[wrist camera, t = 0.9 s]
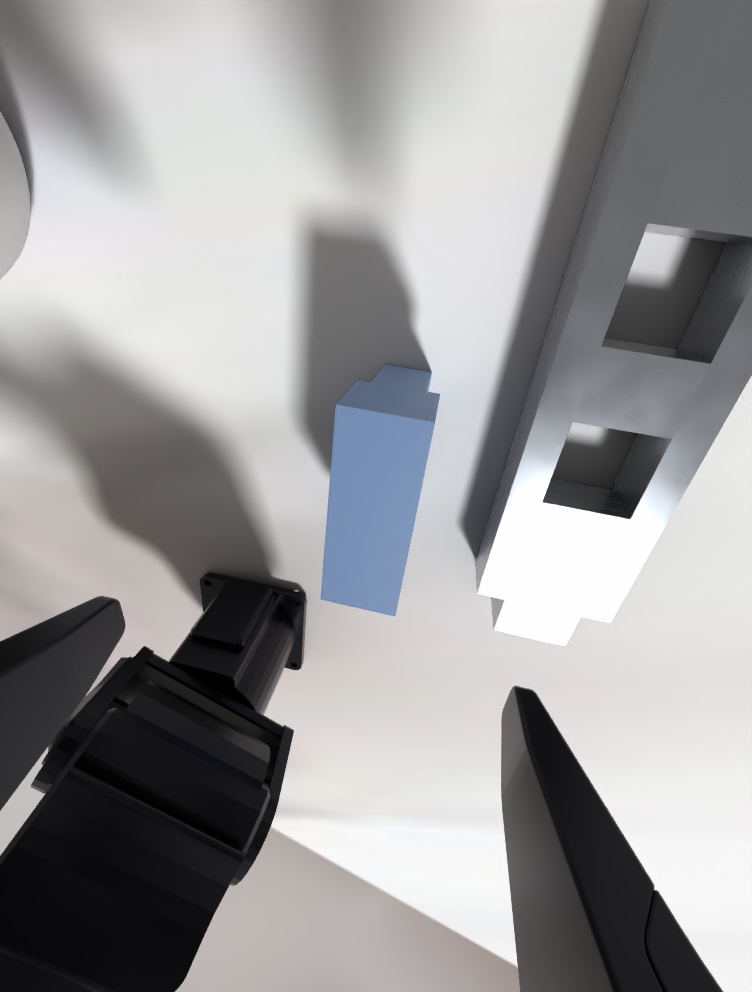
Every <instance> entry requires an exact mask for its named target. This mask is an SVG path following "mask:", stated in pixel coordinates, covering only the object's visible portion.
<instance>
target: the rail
mask: <svg viewBox="0 0 752 992" xmlns="http://www.w3.org/2000/svg"><path fill="white" fill-rule="evenodd" d="M644 232H652V233H659V234H667V235H675V236H682V237H690V238H697V239H705V240H712V241H720V242H727V243H726V246H725V248H724V250H723V252H722V254H721V256H720V258H719V261H718V263H717V265H716V267H715V269H714V271H713V273H712V276H711V278H710V280H709V282H708V284H707V286H706V288H705V290H704V293H703V295H702V297H701V299H700V301H699V303H698V305H697V308H696V310H695V312H694V314H693V316H692V318H691V320H690V323H689V325H688V327H687V329H686V331H685V333H684V335H683V337H682V340H681V342H680V344H679V346H678V348H677V349H673V348H667V347H660V346H654V345H647V344H641V343H635V342H628V341H622V340H615V339H609V338H605V335H606V332H607V330H608V327H609V324H610V322H611V319H612V316H613V314H614V311H615V308H616V306H617V303H618V301H619V298H620V295H621V293H622V290H623V287H624V285H625V282H626V279H627V277H628V274H629V272H630V269H631V266H632V264H633V261H634V258H635V256H636V253H637V250H638V248H639V245H640V242H641V240H642V237H643V235H644ZM751 375H752V0H650V1H649V4H648V8H647V11H646V14H645V17H644V20H643V24H642V27H641V30H640V33H639V37H638V40H637V43H636V46H635V49H634V53H633V56H632V59H631V62H630V66H629V69H628V72H627V75H626V78H625V82H624V85H623V88H622V91H621V95H620V98H619V101H618V104H617V107H616V111H615V114H614V117H613V120H612V123H611V127H610V130H609V133H608V136H607V140H606V143H605V146H604V149H603V152H602V156H601V159H600V162H599V165H598V169H597V172H596V175H595V178H594V181H593V185H592V188H591V191H590V194H589V198H588V201H587V204H586V207H585V210H584V214H583V217H582V220H581V223H580V226H579V230H578V233H577V236H576V239H575V243H574V246H573V249H572V252H571V255H570V259H569V262H568V265H567V268H566V272H565V275H564V278H563V281H562V284H561V288H560V291H559V294H558V297H557V300H556V304H555V307H554V310H553V313H552V317H551V320H550V323H549V326H548V329H547V333H546V336H545V339H544V342H543V346H542V349H541V352H540V355H539V358H538V362H537V365H536V368H535V371H534V375H533V378H532V381H531V384H530V387H529V391H528V394H527V397H526V400H525V403H524V407H523V410H522V413H521V416H520V420H519V423H518V426H517V429H516V432H515V436H514V439H513V442H512V445H511V449H510V452H509V455H508V458H507V461H506V465H505V468H504V471H503V474H502V478H501V481H500V484H499V487H498V490H497V494H496V497H495V500H494V503H493V506H492V510H491V513H490V516H489V519H488V523H487V526H486V529H485V532H484V535H483V539H482V542H481V545H480V548H479V552H478V555H477V558H476V582H477V594H481V595H485V596H490V597H491V602H492V614H493V627H494V630H496V631H501V632H505V633H510V634H514V635H519V636H523V637H527V638H532V639H536V640H541V641H545V642H550V643H554V644H559V645H563V646H565V645H566V643H567V641H568V640H569V638H570V636H571V634H572V632H573V630H574V628H575V626H576V624H577V622H578V620H579V618H580V616H582V617H587V618H591V619H596V620H601V621H605V622H611V620H612V618H613V617H614V615H615V613H616V611H617V610H618V608H619V606H620V604H621V603H622V601H623V599H624V597H625V596H626V594H627V592H628V590H629V589H630V587H631V585H632V583H633V582H634V580H635V578H636V576H637V575H638V573H639V571H640V569H641V568H642V566H643V564H644V562H645V561H646V559H647V557H648V555H649V554H650V552H651V550H652V548H653V547H654V545H655V543H656V541H657V540H658V538H659V536H660V534H661V533H662V531H663V529H664V527H665V526H666V524H667V522H668V520H669V519H670V517H671V515H672V513H673V512H674V510H675V508H676V506H677V505H678V503H679V501H680V499H681V498H682V496H683V494H684V492H685V491H686V489H687V487H688V485H689V484H690V482H691V480H692V478H693V477H694V475H695V473H696V471H697V470H698V468H699V466H700V464H701V463H702V461H703V459H704V457H705V456H706V454H707V452H708V450H709V449H710V447H711V445H712V443H713V442H714V440H715V438H716V436H717V435H718V433H719V431H720V429H721V428H722V426H723V424H724V422H725V421H726V419H727V417H728V415H729V414H730V412H731V410H732V408H733V407H734V405H735V403H736V401H737V400H738V398H739V396H740V394H741V393H742V391H743V389H744V387H745V386H746V384H747V382H748V380H749V379H750V377H751ZM572 422H577V423H583V424H588V425H594V426H600V427H605V428H611V429H617V430H622V431H628V432H634V433H638V434H637V436H636V438H635V440H634V442H633V444H632V446H631V449H630V451H629V453H628V455H627V457H626V459H625V461H624V463H623V466H622V468H621V470H620V472H619V474H618V476H617V478H616V481H615V483H614V485H613V487H612V489H607V488H601V487H596V486H591V485H585V484H580V483H575V482H569V481H564V480H559V479H553V478H551V477H552V475H553V472H554V469H555V467H556V464H557V462H558V459H559V456H560V454H561V451H562V448H563V446H564V443H565V440H566V438H567V435H568V433H569V430H570V427H571V425H572Z"/></svg>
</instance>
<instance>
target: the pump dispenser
mask: <svg viewBox="0 0 752 992" xmlns="http://www.w3.org/2000/svg"><path fill="white" fill-rule="evenodd" d="M29 224H30V194H29V187H28V181H27V176H26V172H25V168H24V165H23V161H22V158H21V155H20V152H19V150H18V147H17V144H16V142H15V140H14V137H13V135H12V133H11V131H10V129H9V127H8V125H7V123H6V121H5V119H4V117H3V115H2V113H1V111H0V278H2V277H3V276H4V275H5V274H6V273H7V272H8V271H9V270H10V269H11V267H12V266H13V265H14V264H15V262H16V260H17V259H18V257H19V256H20V254H21V252H22V250H23V247H24V245H25V242H26V238H27V235H28V230H29Z"/></svg>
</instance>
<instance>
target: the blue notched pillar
mask: <svg viewBox="0 0 752 992" xmlns="http://www.w3.org/2000/svg"><path fill="white" fill-rule="evenodd" d="M431 374H432V372H429V371H423V370H417V369H412V368H406V367H400V366H394V365H388V364H384V365H383V367H382V368H381V369H380V371H379V372H378V373H377V375H376V376H375V377H374V379H373V380H372V381H371V382H368V381H362V380H357V381H356V382H355V383H354V384H353V385H352V387H351V388H350V389H349V390H348V391H347V392H346V393H345V394H344V396H343V397H342V398H341V399H340V400H339V401H338V402H337V404H336V407H335V420H334V433H333V446H332V459H331V472H330V485H329V498H328V511H327V524H326V537H325V550H324V563H323V576H322V589H321V600H326V601H330V602H334V603H339V604H343V605H348V606H352V607H356V608H361V609H365V610H370V611H374V612H378V613H383V614H387V615H391V616H395V615H396V610H397V605H398V600H399V595H400V590H401V585H402V580H403V575H404V571H405V566H406V561H407V556H408V551H409V546H410V541H411V536H412V531H413V527H414V522H415V517H416V512H417V507H418V502H419V497H420V492H421V487H422V483H423V478H424V473H425V468H426V463H427V458H428V453H429V448H430V443H431V438H432V434H433V429H434V424H435V419H436V413H437V408H438V402H439V397H440V394H437V393H431V392H428V389H429V384H430V379H431Z"/></svg>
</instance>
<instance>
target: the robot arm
mask: <svg viewBox="0 0 752 992" xmlns="http://www.w3.org/2000/svg"><path fill="white" fill-rule="evenodd" d="M200 586H201V595H202V603H203V614H202V615H201V617H200V618H199V619H198V621H197V622H196V623H195V625H194V626H193V628H192V629H191V632H190V633H189V634H188V636H187V637H186V638H185V640H184V641H183V642H182V644H181V645H180V647H179V648H178V649H177V651H176V652H175V653H174V655H173V656H172V658H171V659H170V660H169V662H168V661H166V660H164V659H163V658H161V657H159V656H157V655H155V654H154V653H153V652H154V651H153V650H151V649H149V648H147V647H146V646H144V647H143V648H142V649H141V650H140V651H139V652H138V653H137V654H136V656H135V657H133V658H132V657H129V658H121V659H120V660H119V661H118V662H117V663H116V664H115V666H114V667H113V668H112V669H111V670H110V671H109V673H108V674H107V675H106V676H105V677H104V678H103V680H102V681H101V682H100V683H99V684H98V685H97V686H96V687H95V688H94V689H93V690H92V691H91V692H90V693H89V694H88V695H87V696H85V695H86V694H87V692H88V691H89V689H90V688H91V686H92V684H93V683H94V681H95V680H96V678H97V676H98V675H99V673H100V671H101V670H102V668H103V666H104V665H105V663H106V662H107V660H108V658H109V657H110V655H111V653H112V652H113V650H114V648H115V647H116V645H117V643H118V642H119V640H120V639H121V637H122V635H123V633H124V630H125V620H124V616H123V613H122V609H121V605H120V602H119V601H118V600H117V599H114V598H109V597H105V596H99V597H96V598H94V599H91V600H89V601H87V602H85V603H83V604H81V605H78V606H76V607H74V608H72V609H70V610H68V611H65V612H63V613H61V614H59V615H57V616H55V617H52V618H50V619H48V620H46V621H44V622H41V623H39V624H37V625H35V626H33V627H31V628H28V629H26V630H24V631H22V632H20V633H18V634H15V635H13V636H11V637H9V638H7V639H5V640H2V641H0V810H1V809H2V808H3V806H4V805H5V804H6V802H7V801H8V800H9V798H10V797H11V796H12V794H13V793H14V792H15V790H16V789H17V788H18V786H19V785H20V783H21V782H22V781H23V779H24V778H25V777H26V775H27V774H28V773H29V771H30V770H31V769H32V767H33V766H34V765H35V763H36V762H37V761H38V759H39V758H40V756H41V755H42V754H43V752H44V751H45V750H46V748H47V747H48V754H47V755H46V757H45V758H44V760H43V762H42V765H43V767H42V768H41V770H40V771H39V773H38V774H37V776H36V777H35V779H34V781H33V783H32V784H31V787H32V788H34V789H36V790H38V791H40V792H42V793H46V794H45V795H44V797H43V798H42V799H41V801H40V802H39V803H38V805H37V806H36V808H35V809H34V810H33V812H32V813H31V815H30V816H29V817H28V819H27V820H26V822H25V823H24V824H23V826H22V827H21V828H20V830H19V831H18V832H17V834H16V835H15V837H14V838H13V839H12V841H11V842H10V843H9V845H8V846H7V848H6V849H5V850H4V852H3V853H2V854H1V856H0V992H175V991H176V990H177V989H178V988H179V986H180V985H181V984H182V983H183V981H184V979H185V978H186V976H187V973H188V971H189V969H190V967H191V964H192V962H193V960H194V958H195V955H196V953H197V951H198V949H199V946H200V944H201V942H202V939H203V937H204V935H205V933H206V931H207V928H208V926H209V924H210V922H211V920H212V918H213V915H214V913H215V911H216V910H217V908H218V906H219V904H220V902H221V900H222V898H223V896H224V894H225V892H226V890H227V889H228V887H229V885H232V886H233V885H237V884H238V883H239V882H240V881H241V880H242V879H243V877H244V876H245V875H246V874H247V872H248V871H249V869H250V867H251V866H252V864H253V863H254V861H255V859H256V857H257V855H258V854H259V852H260V849H261V848H262V845H263V843H264V841H265V839H266V837H267V834H268V831H269V829H270V827H271V824H272V821H273V818H274V815H275V812H276V809H277V805H278V801H279V796H280V792H281V787H282V783H283V778H284V773H285V769H286V764H287V760H288V755H289V751H290V746H291V742H292V737H293V732H294V730H293V729H291V728H289V727H287V726H285V725H284V726H281V725H280V724H278V723H276V722H274V721H273V720H271V719H269V718H267V717H265V716H264V713H265V710H266V708H267V706H268V704H269V701H270V699H271V697H272V694H273V692H274V690H275V688H276V685H277V683H278V681H279V678H280V676H281V674H282V672H283V669H284V668H288V669H293V670H299V669H301V666H302V664H303V659H304V640H305V622H306V603H307V600H306V597H305V596H304V595H303V594H301V593H299V592H294V591H290V590H285V589H281V588H277V587H272V586H268V585H263V584H259V583H254V582H250V581H245V580H241V579H237V578H232V577H228V576H223V575H219V574H214V573H205V574H204V575H203V577H202V578H201V579H200ZM296 600H297V601H299V602H297V601H296ZM501 798H502V811H503V822H504V832H505V842H506V852H507V862H508V872H509V882H510V892H511V902H512V912H513V922H514V932H515V942H516V953H517V963H518V973H519V983H520V992H723V991H722V989H721V988H720V986H719V985H718V983H717V982H716V980H715V979H714V978H713V976H712V975H711V973H710V972H709V970H708V969H707V967H706V966H705V964H704V963H703V961H702V960H701V958H700V957H699V955H698V953H697V952H696V950H695V949H694V947H693V946H692V944H691V943H690V941H689V939H688V938H687V936H686V935H685V933H684V932H683V930H682V928H681V927H680V925H679V924H678V922H677V921H676V919H675V917H674V916H673V914H672V913H671V911H670V909H669V908H668V906H667V904H666V903H665V901H664V900H663V898H662V896H661V895H660V893H659V892H658V891H657V890H654V884H653V882H652V880H651V879H650V877H649V876H648V874H647V872H646V871H645V869H644V867H643V866H642V864H641V863H640V861H639V859H638V858H637V856H636V854H635V853H634V851H633V850H632V848H631V846H630V845H629V843H628V842H627V840H626V838H625V837H624V835H623V833H622V832H621V830H620V829H619V827H618V825H617V824H616V822H615V820H614V819H613V817H612V816H611V814H610V812H609V811H608V809H607V807H606V806H605V804H604V803H603V801H602V799H601V798H600V796H599V794H598V793H597V791H596V790H595V788H594V786H593V785H592V783H591V782H590V780H589V778H588V777H587V775H586V773H585V772H584V770H583V769H582V767H581V765H580V764H579V762H578V760H577V759H576V757H575V756H574V754H573V752H572V751H571V749H570V747H569V746H568V744H567V743H566V741H565V739H564V738H563V736H562V734H561V733H560V731H559V730H558V728H557V726H556V725H555V723H554V722H553V720H552V718H551V717H550V715H549V713H548V712H547V710H546V709H545V707H544V705H543V704H542V702H541V700H540V699H539V697H538V696H537V694H536V693H535V691H533V690H532V689H530V688H525V687H520V686H514V687H513V688H512V689H511V691H510V694H509V696H508V698H507V701H506V703H505V706H504V708H503V712H502V745H501Z"/></svg>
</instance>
